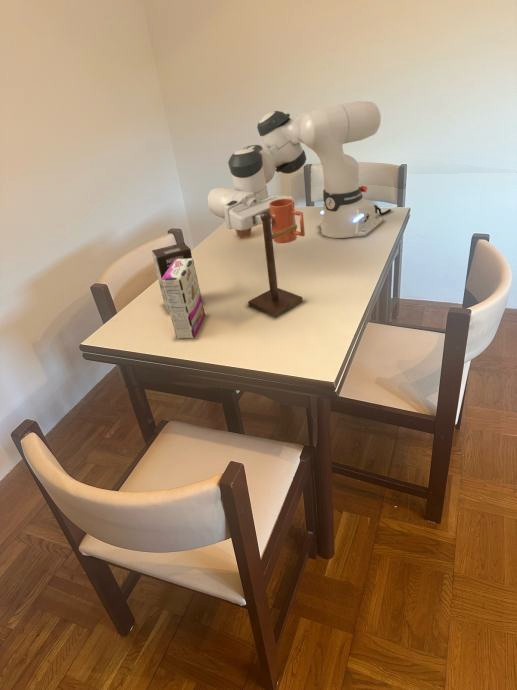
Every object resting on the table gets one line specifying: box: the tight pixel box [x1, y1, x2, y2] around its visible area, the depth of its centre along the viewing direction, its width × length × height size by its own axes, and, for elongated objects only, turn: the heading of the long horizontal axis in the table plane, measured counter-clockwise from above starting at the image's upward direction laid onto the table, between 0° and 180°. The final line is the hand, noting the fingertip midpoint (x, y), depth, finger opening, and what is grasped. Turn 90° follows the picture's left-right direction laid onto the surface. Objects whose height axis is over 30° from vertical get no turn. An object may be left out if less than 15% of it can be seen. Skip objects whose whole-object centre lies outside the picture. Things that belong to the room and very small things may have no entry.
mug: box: [269, 199, 306, 244], centre depth 128 cm, size 10×6×10 cm, turn 43°
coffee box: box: [151, 242, 193, 314], centre depth 128 cm, size 9×6×16 cm
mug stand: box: [247, 211, 303, 318], centre depth 121 cm, size 15×10×25 cm
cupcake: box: [234, 228, 252, 239], centre depth 168 cm, size 9×9×10 cm
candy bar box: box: [161, 257, 207, 340], centre depth 117 cm, size 11×5×16 cm, turn 171°
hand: (282, 216), depth 129 cm, fingers closed on mug, 6 cm apart
